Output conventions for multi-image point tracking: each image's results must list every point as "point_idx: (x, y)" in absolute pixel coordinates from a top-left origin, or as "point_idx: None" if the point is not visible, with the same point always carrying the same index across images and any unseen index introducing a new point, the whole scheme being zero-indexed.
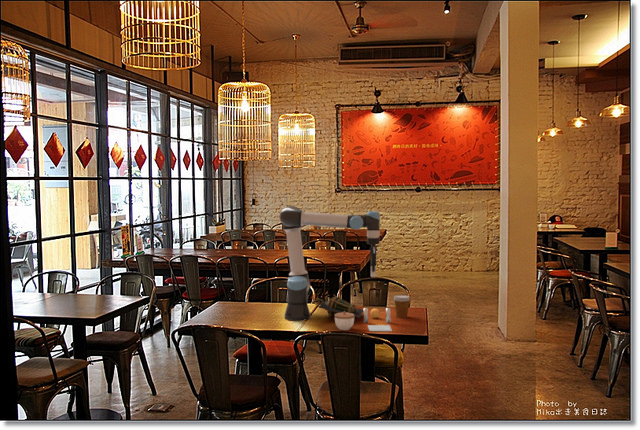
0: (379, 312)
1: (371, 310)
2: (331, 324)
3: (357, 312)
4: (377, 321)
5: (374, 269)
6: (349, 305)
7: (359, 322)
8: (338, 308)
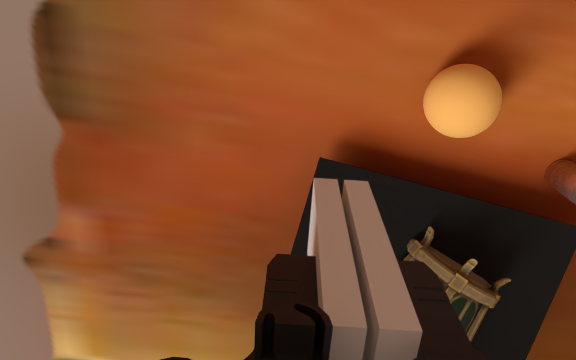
0: (484, 69)
1: (468, 134)
2: (538, 343)
3: (444, 224)
4: (553, 92)
5: (445, 300)
6: (471, 306)
7: (542, 208)
8: None
